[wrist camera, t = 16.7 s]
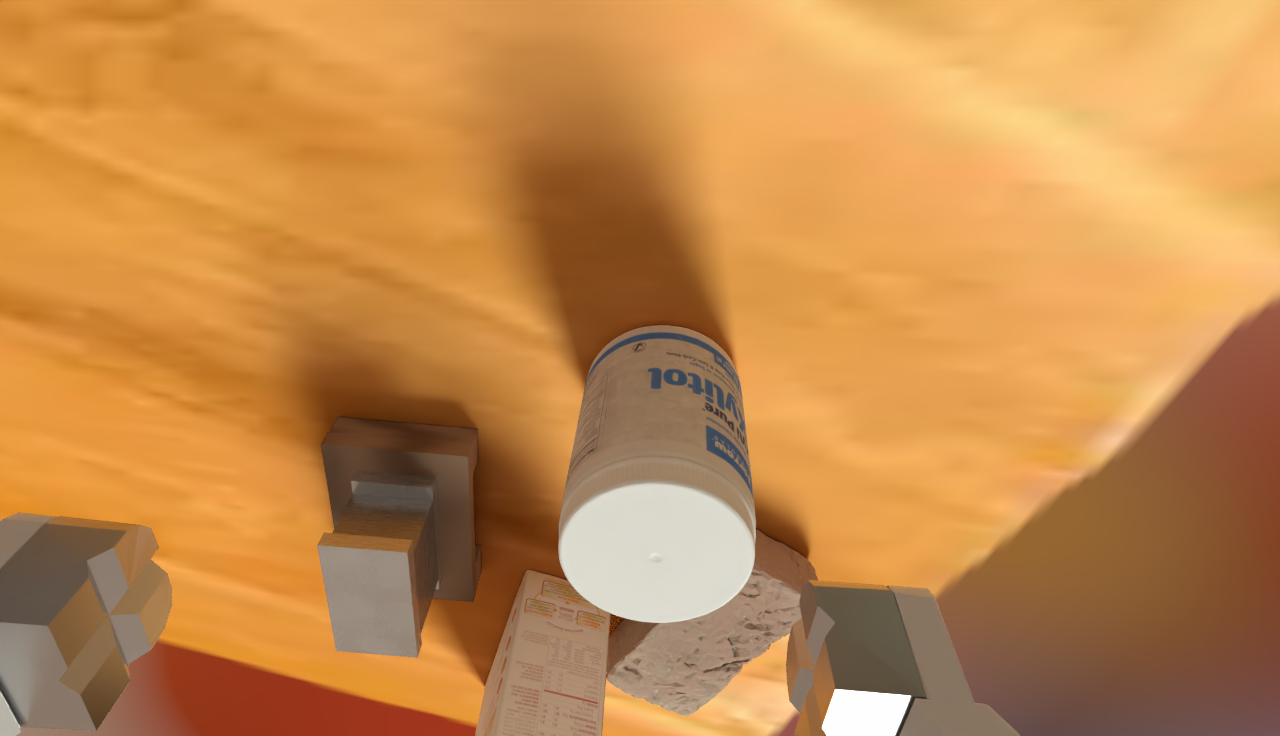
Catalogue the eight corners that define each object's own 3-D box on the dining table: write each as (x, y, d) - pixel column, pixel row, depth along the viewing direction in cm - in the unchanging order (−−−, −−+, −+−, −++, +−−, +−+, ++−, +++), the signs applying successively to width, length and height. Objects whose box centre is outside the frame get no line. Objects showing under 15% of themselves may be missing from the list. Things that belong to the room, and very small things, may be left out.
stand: (358, 559, 58) (344, 591, 55) (338, 415, 51) (321, 443, 48) (481, 570, 58) (473, 601, 56) (477, 427, 51) (467, 456, 49)
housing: (356, 470, 49) (317, 545, 44) (436, 477, 50) (407, 552, 44) (369, 572, 54) (336, 650, 49) (442, 578, 54) (417, 657, 49)
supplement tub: (762, 343, 47) (796, 510, 35) (709, 461, 52) (722, 645, 40) (606, 298, 46) (583, 456, 34) (567, 424, 51) (534, 602, 38)
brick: (688, 676, 64) (690, 729, 60) (600, 638, 62) (596, 690, 58) (817, 553, 57) (829, 604, 53) (722, 504, 55) (727, 553, 51)
